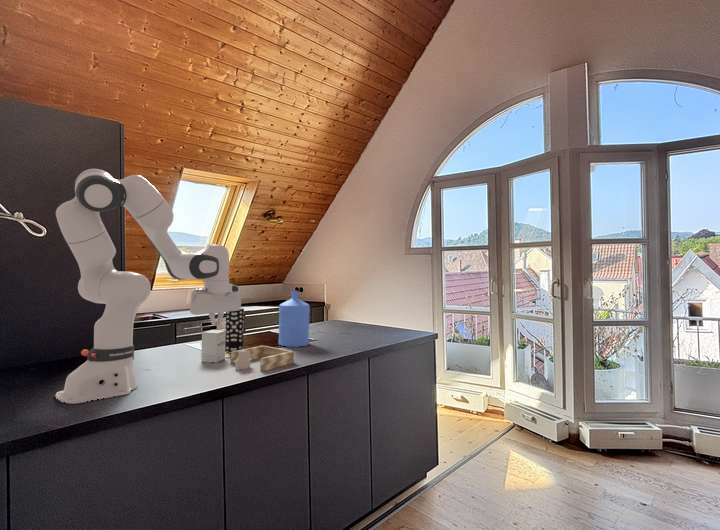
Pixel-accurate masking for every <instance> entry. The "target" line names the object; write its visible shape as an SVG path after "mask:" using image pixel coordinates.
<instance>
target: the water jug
mask: <svg viewBox="0 0 720 530" xmlns="http://www.w3.org/2000/svg"><path fill="white" fill-rule="evenodd" d="M298 291H299V290H291V297H290V299H287V300H286V301H284V302H282V303H280V304H279V308H278V313H279V315H278V316H279V317H278V320H279V322H278V341H277V342H278V345H279V346H280V345H281V347H283V346H287V347H286V348H300V347H299V346H304V347H306V346H305V345H307V346H309V344H310V311H311V309H310V304H309V303H307V302H306V301H303V300H301V299H300V298H299V297H298V295H299V292H298Z"/></svg>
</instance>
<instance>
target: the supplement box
mask: <svg viewBox="0 0 720 530" xmlns="http://www.w3.org/2000/svg"><path fill="white" fill-rule="evenodd" d="M225 336H226V330H217V329H210V330H207V331H206V330H205V331H203V332H201V356H200V358H201V359H200V361H201V363H211V362H215V364H217V363H218V362H221V361H223V359H224V360H225V359H226V352H225Z"/></svg>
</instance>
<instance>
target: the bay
mask: <svg viewBox="0 0 720 530" xmlns="http://www.w3.org/2000/svg"><path fill="white" fill-rule="evenodd" d="M249 350H250V359H253V360H257V358H258V359H260V360H259V361H260V367H259V368H260V369H259V371H260V372H266V371H270V370H273V368H274V369H277V368H281V367H284V366H283V365H285V366H287V365H286V364H289V365H291V364H290V363H293V364H295V351H294V350H289V349H285V348H279V347H278V348H277V347H273V346H268V345H258V346H253V347H249V348H243V350H238V351H233V352H231V353H230V364H231V363H232V364H231V365H235V364H234V363H235V362H234V361H235V360H236V359H237V357H238V356H239V352H242V351H249ZM261 357H262V358H261ZM280 366H281V367H280ZM276 367H277V368H276ZM269 369H270V370H269ZM265 370H266V371H265Z"/></svg>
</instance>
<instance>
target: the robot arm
mask: <svg viewBox="0 0 720 530" xmlns="http://www.w3.org/2000/svg"><path fill="white" fill-rule="evenodd" d="M73 197H74V198H72V199H70V200H67V201H65V202H63V203H61V204H60V205H59V206H58V207H57V208H56V210H55V217H56V220H57V225H58V227H59V228H60V232H61V234H62V236H63V238H64V240H65V241H66V244H67V245H68V247H69V249H70V251H71V253H72V254H73V257H74V258H75V260H76V262H77V264H78V267H79V271H80V279H79V281H78V284H77V290H78V291H77V292H78V294H79V295H80V297H81V298H82V299H84V300H86V301H89V302H92V303H94V304H105V308H104V311H103V314H102V316H101V317H100V318H98V319H97V321H95V323H94V326H93V347H92V348H91V349H82V350H81V351H80V354H81V355H82V356H83V357H87V358H86V359H87V360H86V361H85V362H84V363H82V364H81V365H79V366H78V367H77V368H76V369H74V370H73V371H72V372H71V373H69V374H68V375H67V377H66V379H65V383H64V388H63V390H60V391H57V392H56V393H55V395H54V396H55V397H56V398H55V399H56V400H57V399H58V400H57V401H59V400H60V401H59V402H61V403H64V402H65V404H71V405H72V404H73V405H74V404H81V403H87V401H88V402H92V401H91V400H93V401H97V399H99V400H102V399H103V398H104V399H110V398H114V396H115V397H119V396H125V395H128V394H131V392H132V391H133V390H135V389H137V388H138V383H137V380H136V376H135V375H136V374H135V369H134V359H135V345H134V344H133V342H134V341H133V337H134V324H135V323H134V322H135V318H136V316H137V312H138V310H139V308H140V307H141V305H142V304H143V303H144V302H145V301H146V300H147V299H148V298H149V296H150V294H151V291H152V290H151V289H152V288H151V287H152V286H151V282H150V280H149V278H148V277H147V276H146V275H144V274H141V273H137V272H134V271H122V270H121V271H120V270H119V271H118V270H117V269H115V267H114V263H113V259H114V257H115V256H116V253H117V249H116V247H115V245H114V243H113V241H112V239H111V237H110V235H109V232H108V231H107V229H106V226H105V224H104V223H103V221H102V217H101V216H100V213H102V212H107V211H108V212H109V211H110V210H113V209H114V210H115V209H118V208H121V207H123V208H125V209H126V211H128V212H129V214H130V215H131V216H132V218H134V220H135V221H136V222H137V223H138V225H139V226H140V227H141V229H142V230H143V232H144V233H145V235H146V237H147V239H148V241H149V242H150V243H151V244H152V246H153V247H154V248H155V249H154V250H156V252H157V253H158V254H159V255H160V257H161V259H163V261H164V265H165V267H166V270H167V273H168V274H169V276H170V277H172V278H173V279H175V280H177V281H184V280H191V281H193V280H194V281H198V280H199V281H201V280H204V281H203V284H204V285H203V288H195V289H194V290H193V291H192V292H191V295H190V297H191V299H190V305H189V306H190V307H189V312H190V314H191V315H195V316H200V315H201V316H202V315H208V317H209V319H210V321H211V325H212V326H216V325H217V326H220V325H221V324H222V319H223V317H224V314H225V313H226V312H229V311H239V310H240V308H242V296H241V293H240V292H241V286H239V285H236V284H233V283H230V277H229V270H230V254H229V253H230V252H229V250H228V248H227V247H226V246H223V245H220V244H215V243H214V244H213V243H212V244H210V243H209V244H207V245H206V246H205V247H204V248H202V249H201V250H199V251H195V252H192V253H191V252H188V253H187V252H184V251H183V250H180V249H179V248H178V246H177V245H176V244H175V242H174V241H173V239H172V238H171V236H170V234H169V232H168V229H170V227H171V225H172V224H173V222H174V216H175V215H174V212H173V210H172V208H171V206H170V205H169V203H168V202H167V200H166V199H165V198H164V197H163V195H162V194H161V193H160V192H159V190H157V189H156V187H155V186H154V185H152V184H151V183H150V181H148V180H147V179H146V178H145V177H143V176H142V175H138V174H132V175H131V174H130V175H127V176H126V177H124V178H122V179H116V178H114V177H113V176H112V175H111V173H110V172H108V171H107V170H105V169H103V168H100V167H89V168H88V167H87V168H85V169H82V170H81V171H80V172H79V173H78V174H77V176H76V177H75V181H74V191H73ZM216 314H217V318H216V317H215V316H216ZM131 390H132V391H131Z"/></svg>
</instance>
